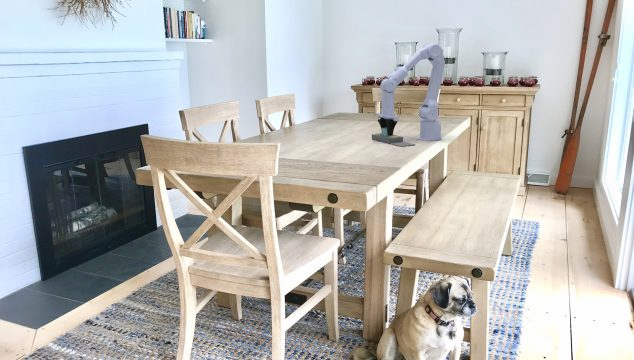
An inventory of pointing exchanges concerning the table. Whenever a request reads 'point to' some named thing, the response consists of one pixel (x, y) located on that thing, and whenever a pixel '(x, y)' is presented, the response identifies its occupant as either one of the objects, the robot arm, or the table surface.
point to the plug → (384, 132)
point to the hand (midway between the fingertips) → (387, 134)
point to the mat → (402, 144)
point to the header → (387, 138)
